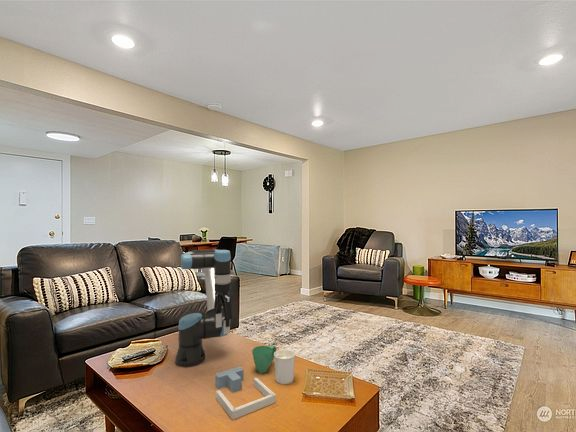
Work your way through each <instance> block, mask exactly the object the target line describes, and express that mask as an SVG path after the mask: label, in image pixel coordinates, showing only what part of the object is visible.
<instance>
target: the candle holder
mask: <svg viewBox="0 0 576 432" xmlns="http://www.w3.org/2000/svg"><path fill="white" fill-rule="evenodd" d="M295 359H296V353H295V351H294V350H292V349H288V348H282V349H278V350H277V349H276V352H275V353H274V359H273V361H274V374H275V375H274V376H275V377H274V378H275V381H276V382H277V383H278V384H280V385H289V384H291V383H293V381H294V379H295V378H294V376H295V362H296V360H295Z"/></svg>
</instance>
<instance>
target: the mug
mask: <svg viewBox="0 0 576 432" xmlns="http://www.w3.org/2000/svg"><path fill="white" fill-rule="evenodd" d="M276 351H277V348H276V346H275V344H274V345H273V344H272V345H270V346H269V345H260V346H259V345H258V346H255V347H253V348H252V350H251V352H252V358H253V363H254V365H255V369H256V371H257V372H258V373H259V374H264V373H267V372H268V369H269V367H270V365H271V364H272V362H273V361H274V353H275V352H276Z"/></svg>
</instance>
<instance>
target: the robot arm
mask: <svg viewBox="0 0 576 432" xmlns="http://www.w3.org/2000/svg"><path fill="white" fill-rule="evenodd" d="M231 259H232V257H231V251H230V250H229V249H228V250H227V249H214V248H212V249H195V250H190V251H188V252H187V251H186V252H185V253H182V254H181V256H180V269H182V270H201V272H202V273H203V274H204V281H205V284H204V285H205V293H206V294H205V295H206V297H205V298H206V306H207V307H206V308H207V310H206V311H205V313H204V315H203V314H202V313H200V312H194V313H193V312H191V313H189V314H186V315H184V316H182V317H181V318H180V319H179V321H178V328H177V329H178V348H177V351H176V353H175V358H174V362H175V363H174V364H175V365H176V366H178V367H182V368H188V367H189V368H190V367H193V366H194V367H195V366H199V365H201V364H202V363H203V362H205V360H206V351H205V350H204V347H203V340H207V339H212V338H221V337H224V336H225V337H226V336H227V335H229V334H230V333H231V320H232V319H233V310H232V297H231V296H229V295H228V294H229V292H231V289H232V288H231V285H232V284H231V281H232V277H231V276H232V275H231Z"/></svg>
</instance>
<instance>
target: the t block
mask: <svg viewBox="0 0 576 432" xmlns="http://www.w3.org/2000/svg"><path fill="white" fill-rule="evenodd" d="M214 374H215V375H214V376H215V378H214V381H215V383H214V384H215V387H217V389H218V390H220V389H224V388H228V389H229V390H230V391H231V392H232V393H235V392H236V393H237V392H238V391H241V390H242V382H244V380H245V379H244V375H245V373H244V369H243V368H242V367H241V366H235V367H234V368H229V369H227V370H224V371H220V372H217V373H214Z"/></svg>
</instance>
